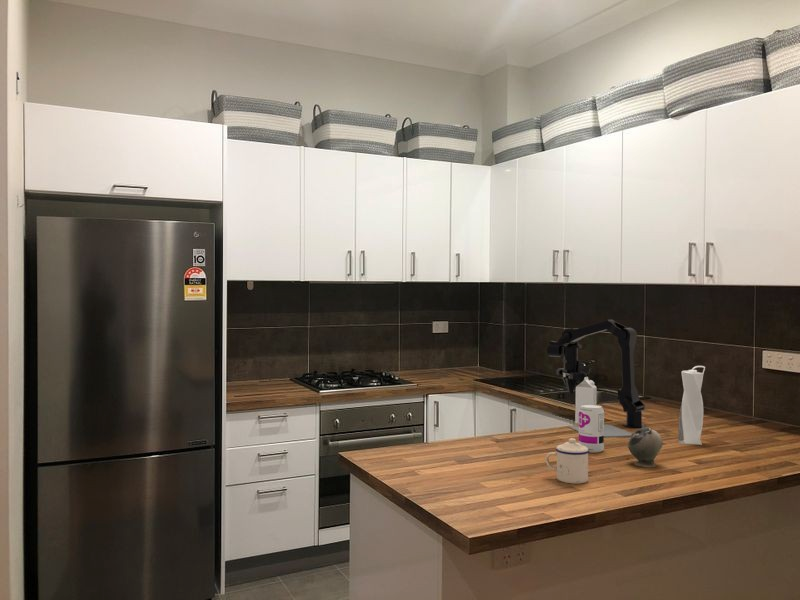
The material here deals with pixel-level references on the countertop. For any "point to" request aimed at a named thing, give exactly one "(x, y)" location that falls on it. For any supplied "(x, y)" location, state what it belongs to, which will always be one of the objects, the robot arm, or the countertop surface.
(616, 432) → the mat
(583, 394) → the milk carton
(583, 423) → the supplement can
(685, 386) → the white tall faceted vessel
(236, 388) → the countertop surface
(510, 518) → the countertop surface
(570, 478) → the teacup with lid
